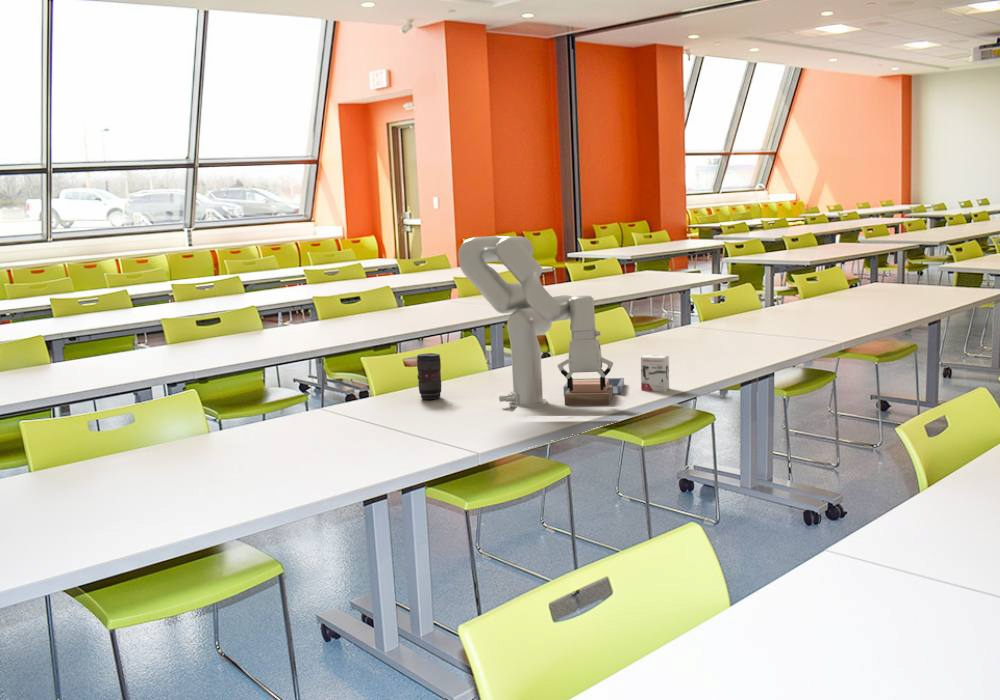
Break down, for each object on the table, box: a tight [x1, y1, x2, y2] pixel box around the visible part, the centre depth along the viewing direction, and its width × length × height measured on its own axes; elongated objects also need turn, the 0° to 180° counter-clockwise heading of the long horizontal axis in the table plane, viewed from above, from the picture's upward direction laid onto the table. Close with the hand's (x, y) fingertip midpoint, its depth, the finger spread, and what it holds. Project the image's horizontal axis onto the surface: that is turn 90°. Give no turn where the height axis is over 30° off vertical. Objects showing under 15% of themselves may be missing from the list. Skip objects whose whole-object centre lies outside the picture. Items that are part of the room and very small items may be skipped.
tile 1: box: [569, 382, 608, 392], centre depth 288 cm, size 4×12×2 cm, turn 78°
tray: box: [563, 377, 625, 396], centre depth 306 cm, size 16×19×3 cm
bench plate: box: [563, 385, 614, 406], centre depth 291 cm, size 16×14×4 cm
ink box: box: [640, 354, 670, 393], centre depth 301 cm, size 9×5×12 cm, turn 62°
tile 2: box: [573, 378, 609, 388], centre depth 293 cm, size 4×12×2 cm, turn 78°
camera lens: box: [416, 353, 442, 400], centre depth 309 cm, size 8×8×15 cm
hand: (586, 390), depth 280 cm, fingers open, 9 cm apart
